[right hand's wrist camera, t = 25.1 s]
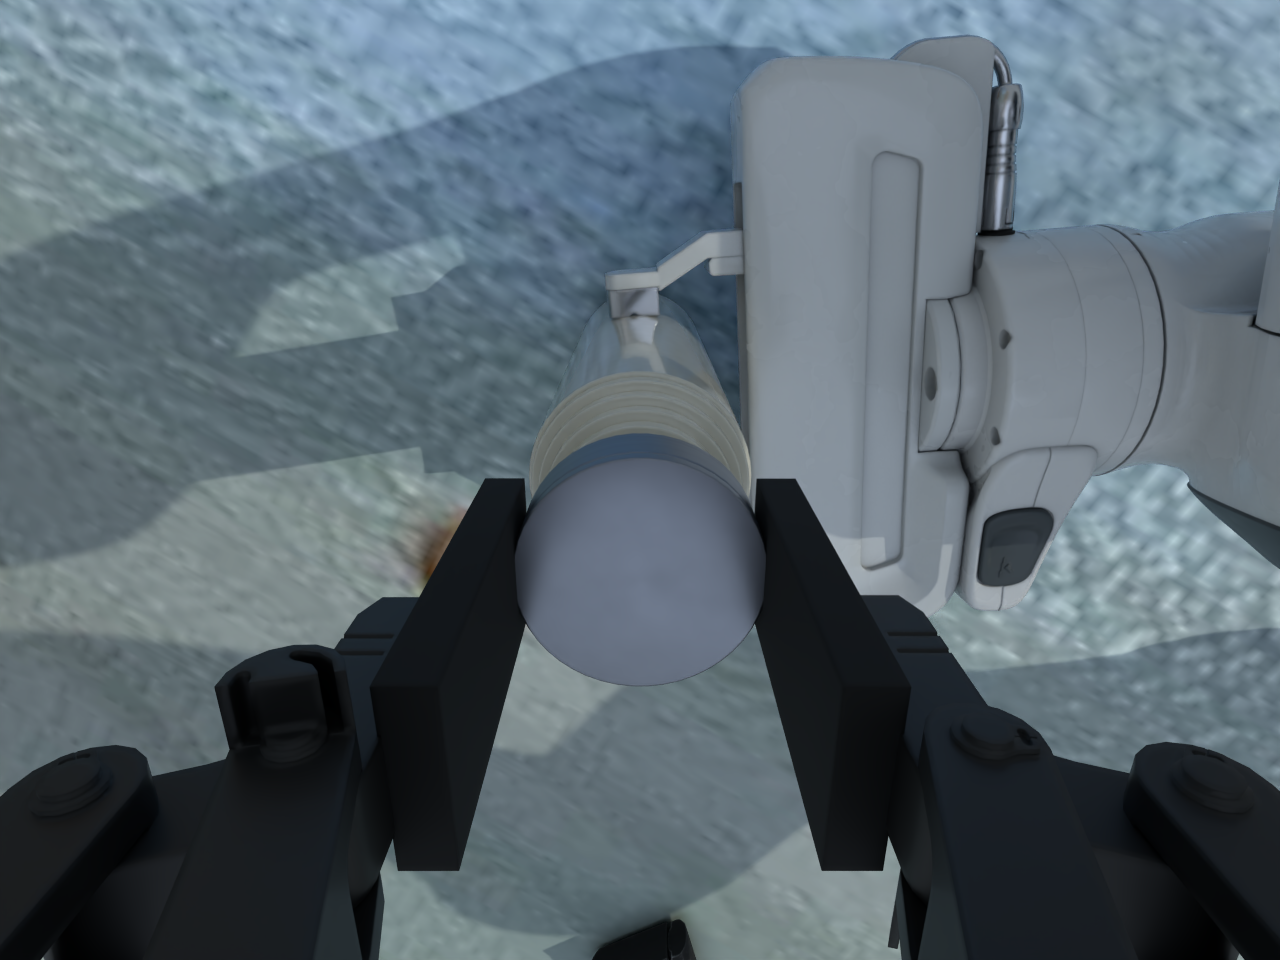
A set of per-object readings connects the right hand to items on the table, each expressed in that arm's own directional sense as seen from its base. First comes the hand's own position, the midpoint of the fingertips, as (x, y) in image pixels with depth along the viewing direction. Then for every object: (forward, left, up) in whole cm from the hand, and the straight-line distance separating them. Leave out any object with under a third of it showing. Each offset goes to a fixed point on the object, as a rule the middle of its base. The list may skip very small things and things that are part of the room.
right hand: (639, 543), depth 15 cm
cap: (0, 0, +1) cm, 1 cm away
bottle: (0, 0, -20) cm, 20 cm away
